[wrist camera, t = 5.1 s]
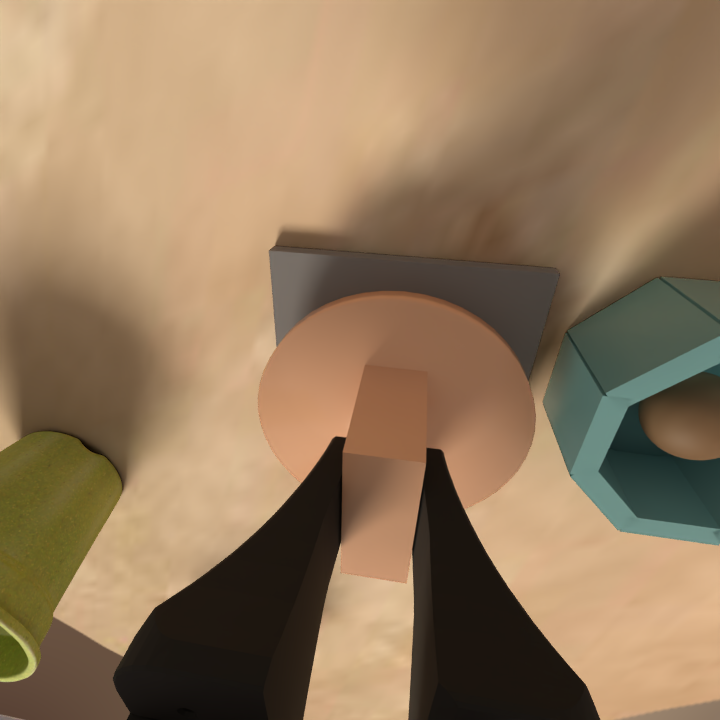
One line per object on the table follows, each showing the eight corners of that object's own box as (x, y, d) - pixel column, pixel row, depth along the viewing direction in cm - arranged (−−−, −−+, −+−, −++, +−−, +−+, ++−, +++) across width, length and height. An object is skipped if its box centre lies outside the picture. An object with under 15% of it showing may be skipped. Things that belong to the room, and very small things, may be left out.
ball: (734, 358, 14) (798, 412, 12) (695, 425, 16) (745, 485, 13) (642, 350, 15) (686, 400, 12) (612, 416, 16) (646, 473, 14)
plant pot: (119, 408, 21) (-49, 568, 14) (172, 529, 26) (68, 697, 18) (-38, 399, 22) (-266, 541, 15) (40, 516, 27) (-105, 667, 20)
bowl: (846, 291, 13) (987, 353, 10) (724, 469, 18) (794, 556, 14) (585, 270, 14) (634, 321, 11) (528, 445, 18) (550, 521, 15)
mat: (555, 268, 14) (560, 274, 14) (495, 474, 20) (497, 484, 19) (274, 246, 15) (269, 250, 15) (288, 447, 21) (285, 455, 20)
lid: (566, 305, 12) (633, 404, 8) (498, 517, 17) (519, 643, 13) (253, 278, 13) (174, 354, 9) (274, 486, 18) (230, 594, 14)
